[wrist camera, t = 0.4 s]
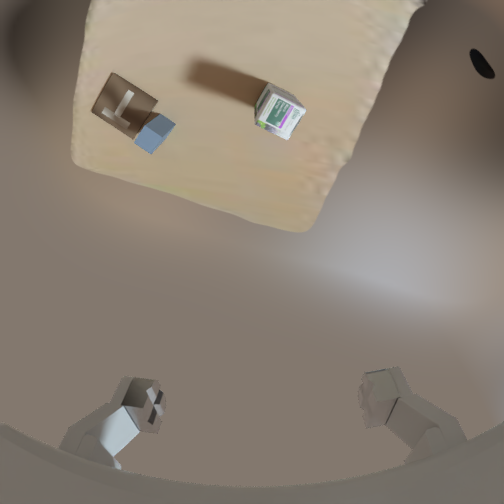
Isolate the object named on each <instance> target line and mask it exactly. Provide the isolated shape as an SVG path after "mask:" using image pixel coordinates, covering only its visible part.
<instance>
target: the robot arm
mask: <svg viewBox="0 0 504 504" xmlns="http://www.w3.org/2000/svg"><path fill="white" fill-rule="evenodd" d="M362 382H363V384H362V385H361V386H360V387H359V391H358V400H359V405H360V408H362V409H363V410H364V413H363V418H364V422H365V426H366V428H371V427H376V426H381V425H385V426H386V427H388V428H389V429H390V430H391V431H392V432H393V433H394V434H395V435H397V436H398V437H399V438H400V439H401V440H402V441H403V442H404V443H406V444H407V445H408V446H409V447H410V448H411V449H413V450H412V451H411V453H410V454H409V455H408V457H407V458H406V460H405V461H404V462H405V465H402V466H398V467H395V468H391V469H387V470H383V471H379V472H376V473H371V474H367V475H362V476H357V477H352V478H346V479H340V480H334V481H328V482H320V483H311V484H303V485H289V486H270V487H269V486H266V487H241V486H240V487H239V486H219V485H206V484H196V483H188V482H187V483H186V482H180V481H173V480H167V479H161V478H156V477H150V476H146V475H141V474H136V473H132V472H128V471H124V470H120V469H121V465H120V463H119V462H118V461H117V460H116V459H115V458H114V457H113V456H115V455H116V454H117V453H118V452H119V451H120V450H121V449H122V448H123V447H124V446H125V445H126V444H127V443H129V442H130V441H131V440H132V439H133V438H134V437H135V436H136V435H137V434H138V433H139V431H143V432H150V433H158V431H159V428H160V425H161V422H162V421H161V419H160V416H161V415H162V414H164V412H165V408H166V399H165V396H164V393H163V392H162V391H160V390H159V388H160V384H159V382H158V381H157V380H151V379H143V378H136V377H128V376H124V377H123V378H122V379H121V381H120V383H119V385H118V387H117V389H116V391H115V393H114V395H113V397H112V399H111V401H110V403H106V404H104V405H103V406H101V407H100V408H98V409H96V410H95V411H93V412H92V413H91V414H89V415H87V416H86V417H85V418H83V419H81V420H80V421H78V422H76V423H75V424H73V425H72V426H70V427H69V428H68V430H67V432H66V434H65V436H64V438H63V440H62V442H61V444H60V446H59V448H55V447H53V446H51V445H48V444H46V443H44V442H42V441H40V440H38V439H35V438H33V437H31V436H29V435H27V434H25V433H23V432H21V431H20V430H18V429H16V428H14V427H12V426H10V425H8V424H6V423H0V504H504V422H502V423H500V424H499V425H497V426H495V427H493V428H491V429H489V430H488V431H486V432H484V433H482V434H480V435H478V436H476V437H474V438H472V439H469V440H467V439H466V436H465V434H464V432H463V430H462V428H461V426H460V424H459V422H458V420H457V418H456V417H454V416H452V415H450V414H449V413H447V412H446V411H444V410H442V409H441V408H439V407H437V406H436V405H434V404H432V403H431V402H429V401H427V400H426V399H424V398H423V397H421V396H419V395H417V394H413V393H412V391H411V389H410V387H409V385H408V382H407V380H406V378H405V377H404V374H403V372H402V370H401V368H400V367H393V368H388V369H382V370H377V371H371V372H366V373H364V374H363V376H362Z"/></svg>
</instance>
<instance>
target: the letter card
mask: <svg viewBox="0 0 504 504" xmlns="http://www.w3.org/2000/svg"><path fill="white" fill-rule="evenodd" d="M157 102H158V100H156V99H155V98H153V97H151V96H150V95H148V94H147V93H145V92H144V91H142V90H141V89H139V88H138V87H136V86H134V85H133V84H131V83H130V82H128V81H126V80H125V79H123V78H122V77H120V76H118V75H117V74H115V73H113V74H112V75H111V77H110V79H109V81H108V82H107V84H106V86H105V88H104V90H103V91H102V93H101V95H100V97H99V99H98V101H97V103H96V105H95V107H94V109H93V111H92V113H94V114H95V115H97V116H98V117H100V118H101V119H103V120H104V121H106V122H107V123H109V124H111V125H112V126H114V127H115V128H117V129H118V130H120V131H121V132H123V133H124V134H126V135H127V136H129V137H130V138H132V139H134V138H135V136H136V134H137V133H138V131H139V129H140V128H141V126H142V125H143V123H144V121H145V120H146V118H147V117H148V115H149V114H150V112H151V111H152V109H153V108H154V106H155V105H156V103H157Z"/></svg>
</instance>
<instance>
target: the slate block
mask: <svg viewBox="0 0 504 504" xmlns="http://www.w3.org/2000/svg"><path fill="white" fill-rule="evenodd" d="M175 125H176V124H175V123H174V122H172V121H171V120H169V119H168V118H166V117H165V116H163V115H162V114H159V115H158V116H157V117H155V118H154V119H153V120H151V121H150V122H149V123H147V124H146V125H145V126H144V127H143V129H142V130H141V132H140V134H139V135H138V137H137V139H136V140H135V142H134V143H135V144H136V145H138V146H139V147H141V148H142V149H144V150H145V151H147V152H148V153H150V154H152V153H153V152H154V151H155V150H156V149H157V148H158V146H159V145H160V144H161V143H162V142H163V141H164V140H165V139H166V138H167V136H168V135H169V133H170V132H171V131H172V129H173V128H174V126H175Z"/></svg>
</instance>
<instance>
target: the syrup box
mask: <svg viewBox="0 0 504 504" xmlns="http://www.w3.org/2000/svg"><path fill="white" fill-rule="evenodd" d="M305 112H306V108H305V107H304V106H303V105H302V104H301V103H300V102H299V100H298V99H297V98H296V97H295V96H294V95H293V94H291V93H289V92H287V91H285V90H283V89H281V88H279V87H277V86H275V85H273V84H271V83H268V84H267V85H266V87H265V89H264V90H263V92H262V94H261V95H260V97H259V99H258V101H257V103H256V105H255V125H257V126H259V127H261V128H263V129H265V130H267V131H269V132H271V133H273V134H275V135H277V136H279V137H282V138H284V139H286V140H288V139H289V137H290V136H291V134H292V132H293V131H294V130H295V128H296V127H297V125H298V124H299V122H300V120H301V119H302V117H303V115H304V114H305Z"/></svg>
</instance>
